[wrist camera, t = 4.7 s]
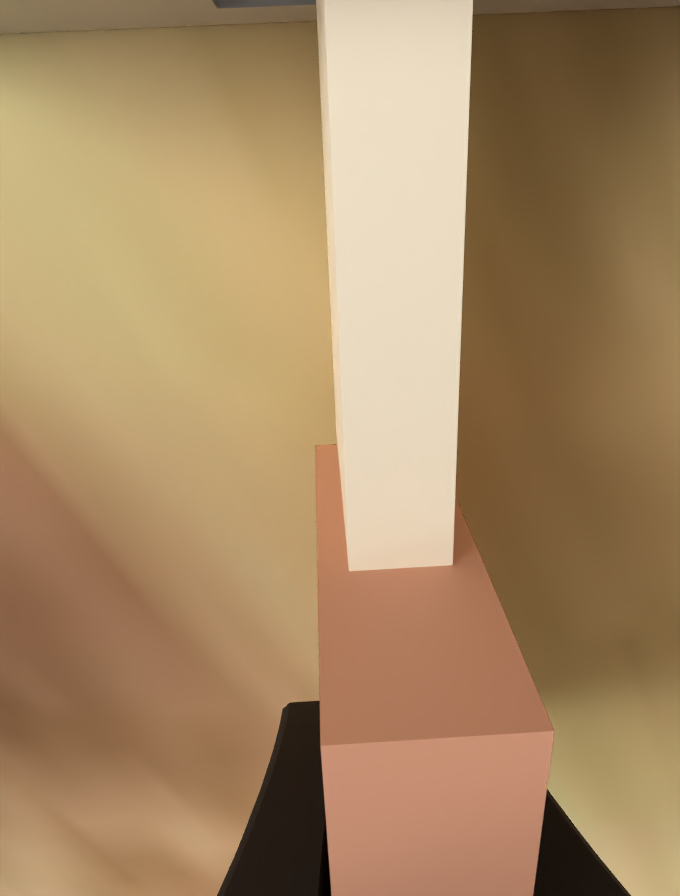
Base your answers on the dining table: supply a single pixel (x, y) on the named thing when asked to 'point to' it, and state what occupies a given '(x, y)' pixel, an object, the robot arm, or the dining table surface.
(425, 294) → the cream pillar on pink
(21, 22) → the dispenser
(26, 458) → the dining table surface
